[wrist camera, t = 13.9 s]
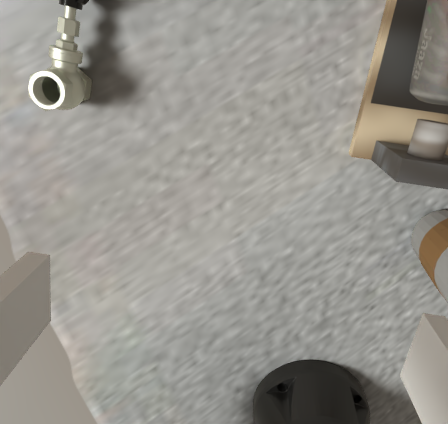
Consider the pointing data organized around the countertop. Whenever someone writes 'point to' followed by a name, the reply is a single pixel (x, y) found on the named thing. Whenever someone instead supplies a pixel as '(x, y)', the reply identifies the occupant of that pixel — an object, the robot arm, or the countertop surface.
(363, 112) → the shaft bed
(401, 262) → the countertop surface
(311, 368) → the robot arm
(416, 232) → the coffee cup
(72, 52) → the valve
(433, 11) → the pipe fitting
